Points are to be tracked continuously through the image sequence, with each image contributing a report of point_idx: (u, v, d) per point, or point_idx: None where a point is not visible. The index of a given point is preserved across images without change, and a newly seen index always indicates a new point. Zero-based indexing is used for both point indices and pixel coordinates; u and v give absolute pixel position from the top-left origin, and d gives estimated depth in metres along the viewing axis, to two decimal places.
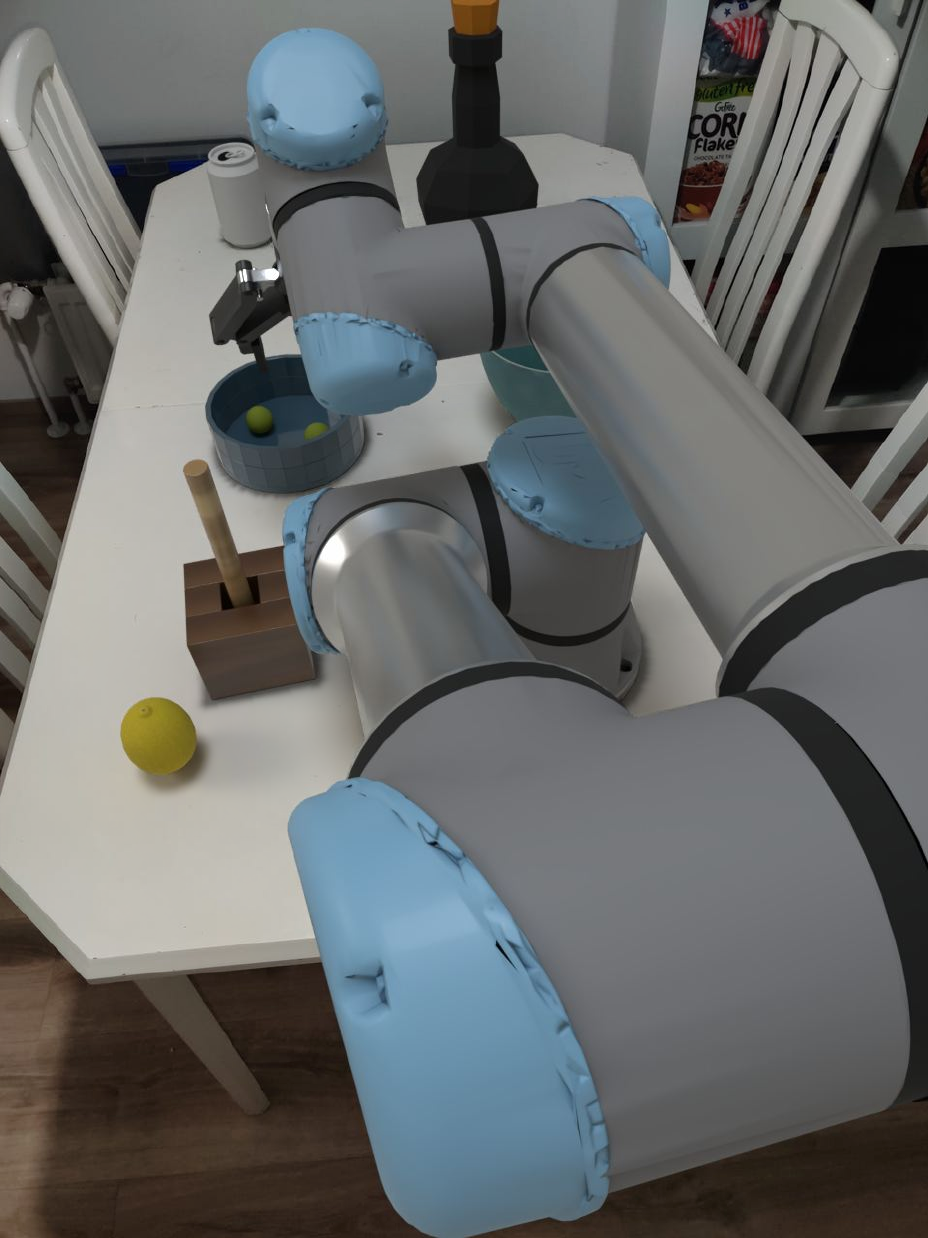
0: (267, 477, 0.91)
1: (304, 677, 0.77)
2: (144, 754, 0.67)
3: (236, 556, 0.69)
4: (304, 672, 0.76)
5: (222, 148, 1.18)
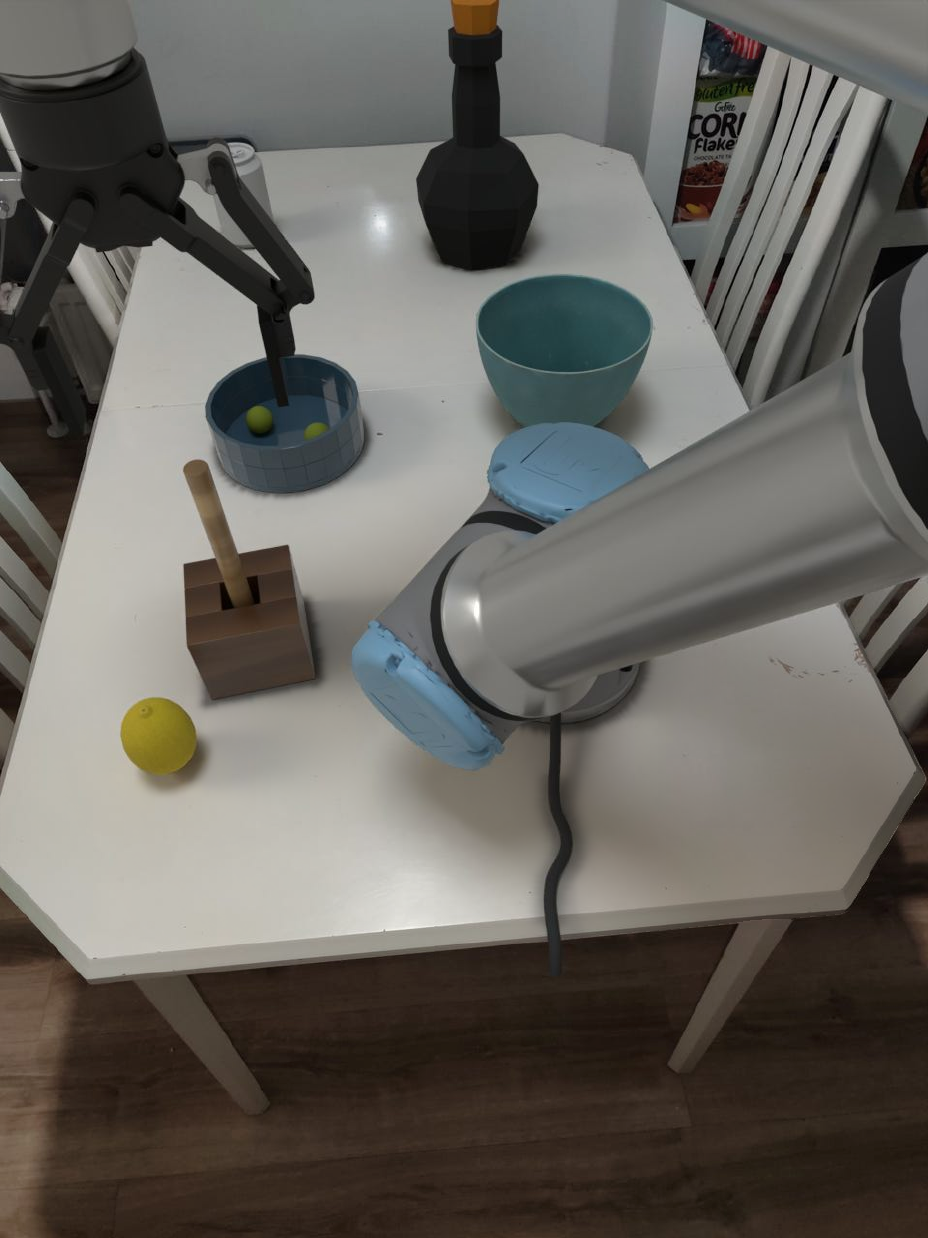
0: (267, 477, 0.91)
1: (304, 677, 0.77)
2: (144, 754, 0.67)
3: (236, 556, 0.69)
4: (304, 672, 0.76)
5: None
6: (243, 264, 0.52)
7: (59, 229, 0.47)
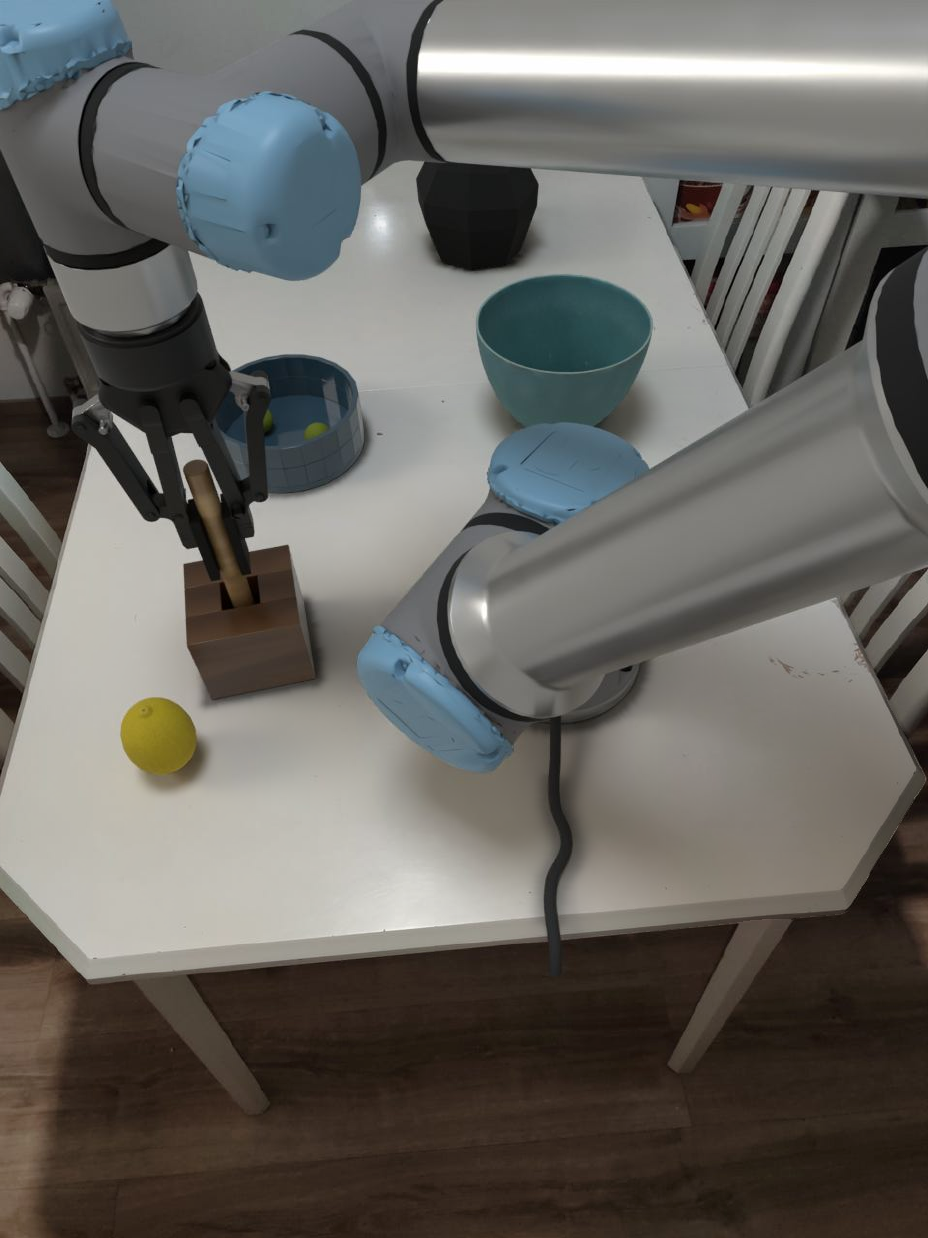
0: (267, 477, 0.91)
1: (304, 677, 0.77)
2: (144, 754, 0.67)
3: None
4: (304, 672, 0.76)
5: None
6: (231, 468, 0.63)
7: (146, 433, 0.57)
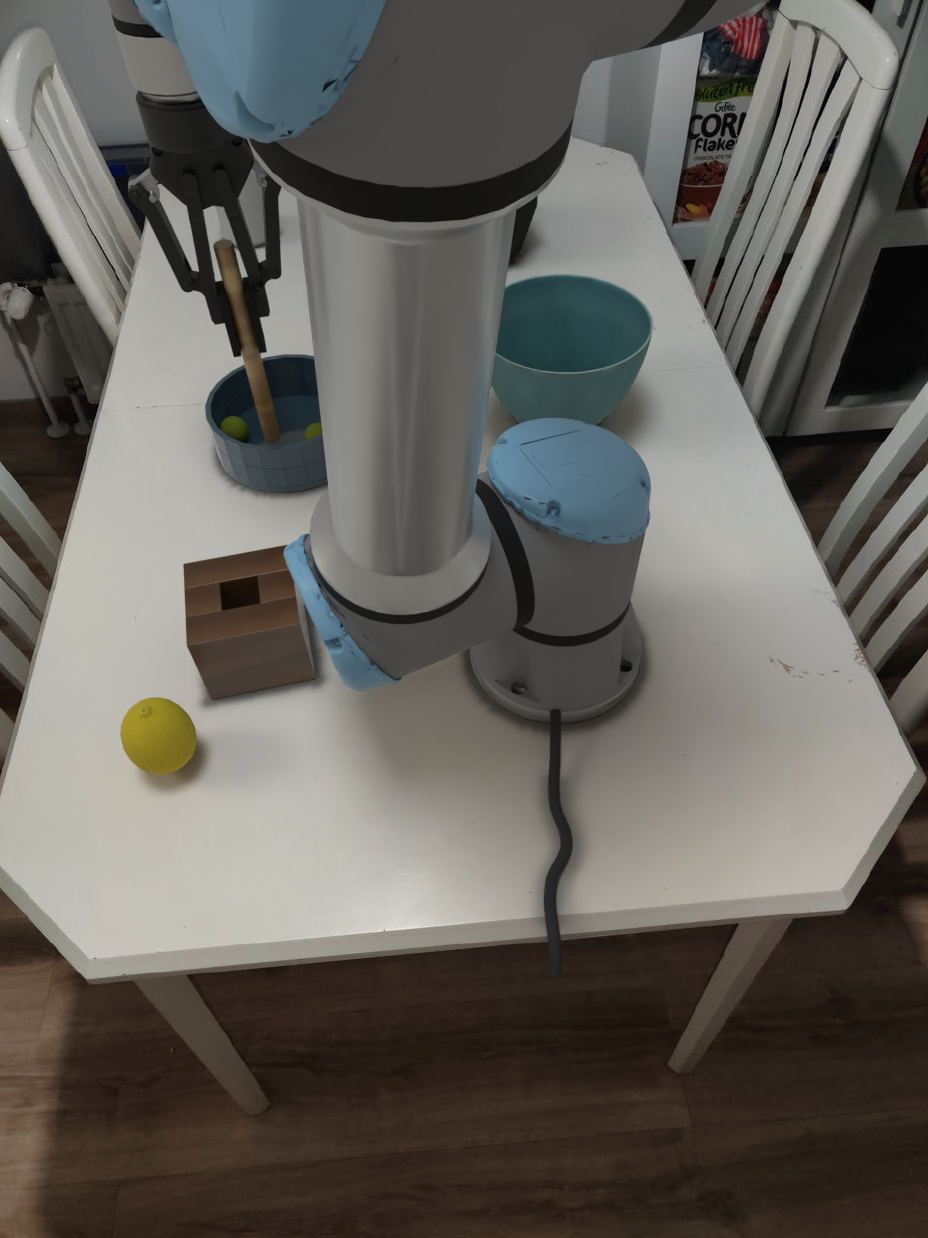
0: (267, 477, 0.91)
1: (304, 677, 0.77)
2: (144, 754, 0.67)
3: (254, 336, 0.85)
4: (304, 672, 0.76)
5: None
6: (252, 245, 0.78)
7: (186, 201, 0.72)
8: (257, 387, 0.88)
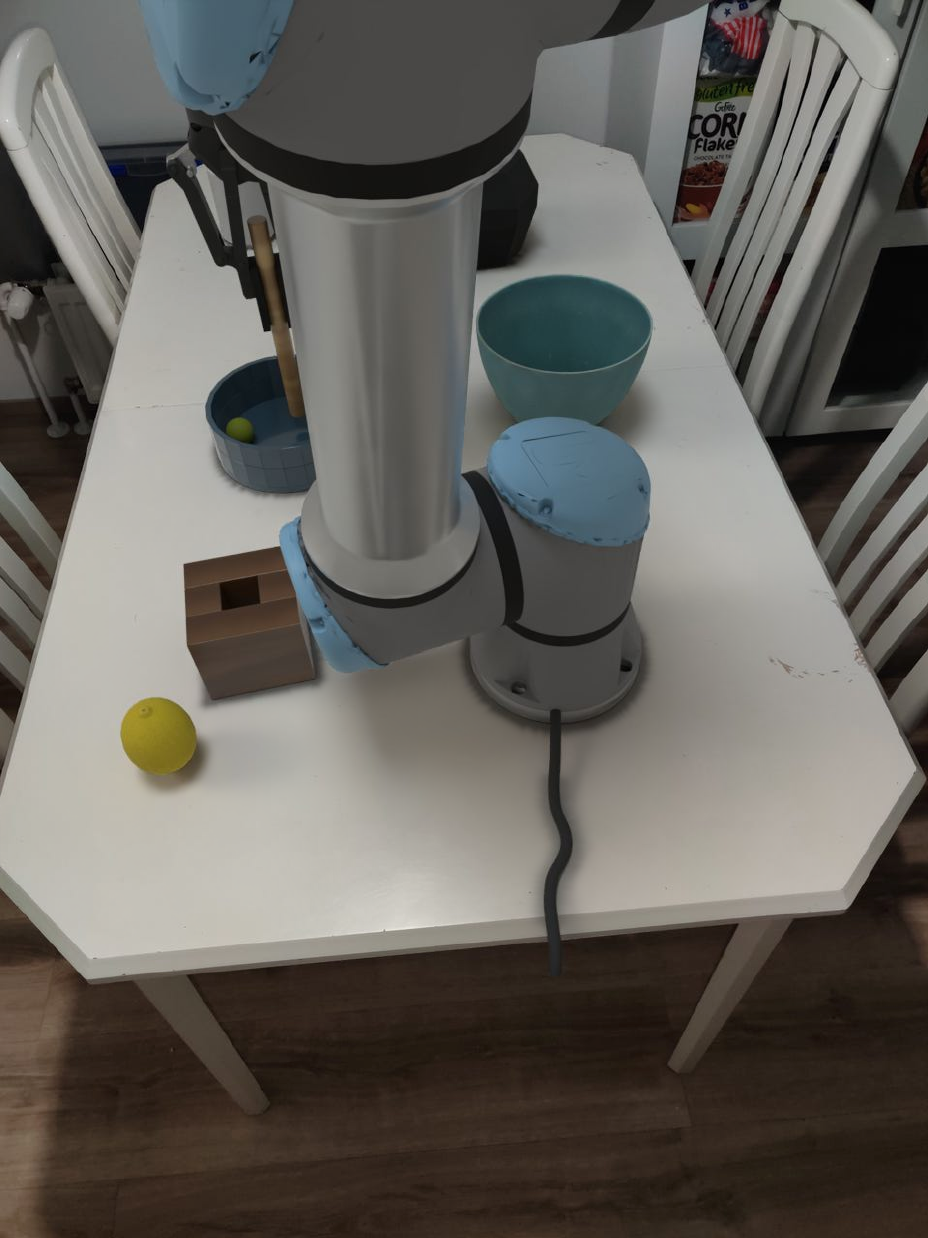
0: (267, 477, 0.91)
1: (304, 677, 0.77)
2: (144, 754, 0.67)
3: (284, 311, 0.86)
4: (304, 672, 0.76)
5: None
6: None
7: (223, 176, 0.74)
8: (285, 362, 0.90)
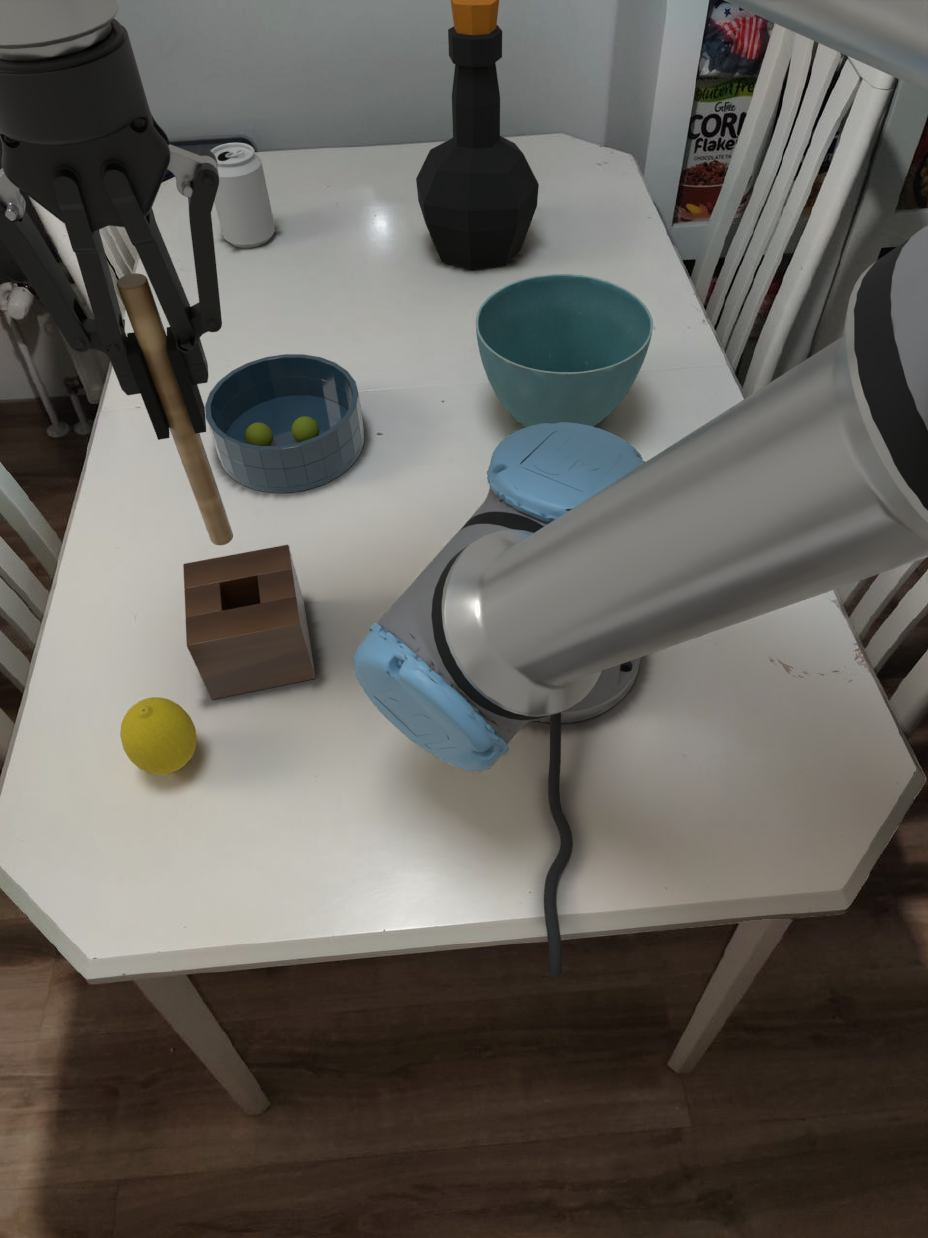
0: (267, 477, 0.91)
1: (304, 677, 0.77)
2: (144, 754, 0.67)
3: None
4: (304, 672, 0.76)
5: (222, 148, 1.18)
6: (176, 284, 0.52)
7: (64, 219, 0.46)
8: (195, 476, 0.62)
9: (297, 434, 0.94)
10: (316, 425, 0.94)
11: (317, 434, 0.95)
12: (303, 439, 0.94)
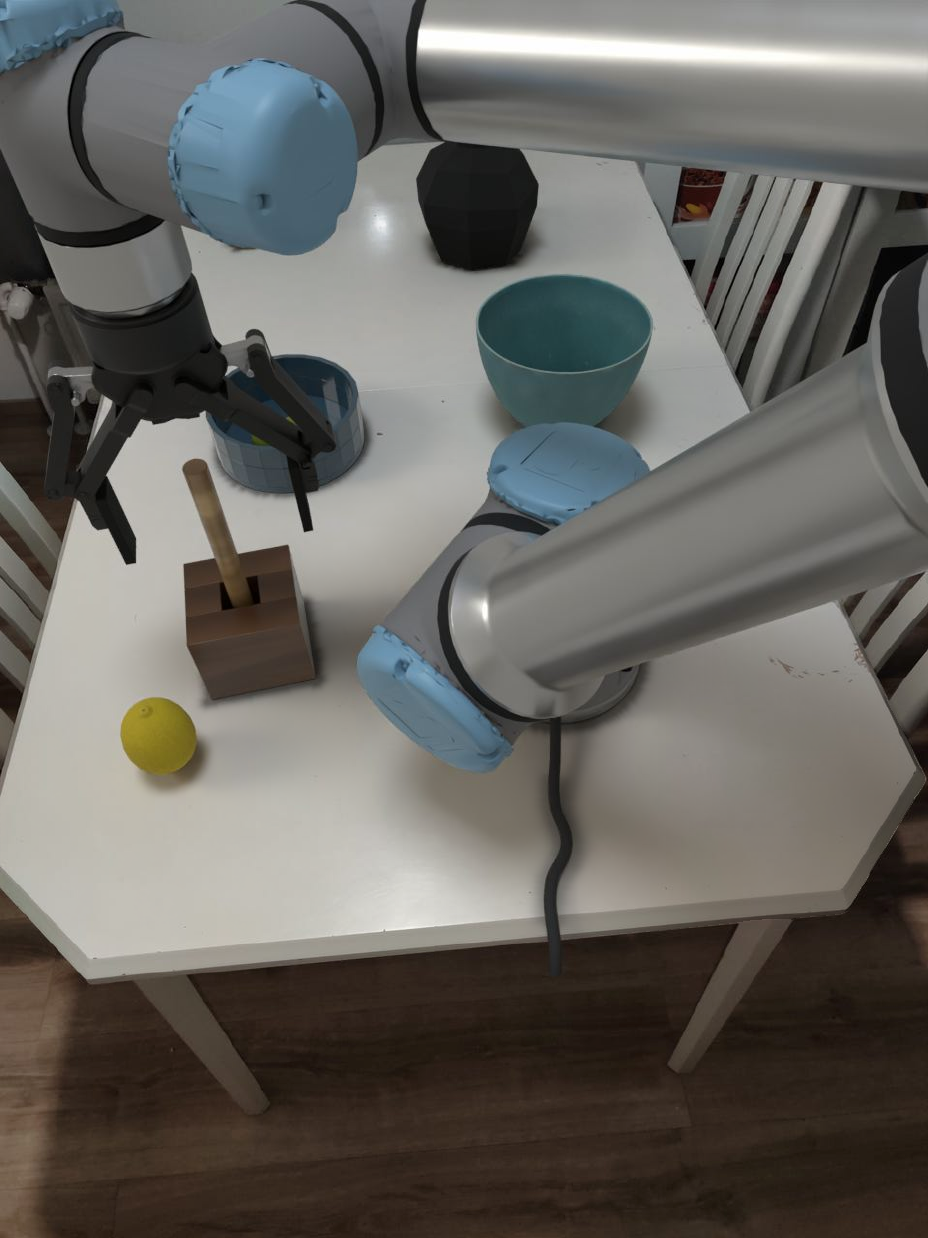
0: (267, 477, 0.91)
1: (304, 677, 0.77)
2: (144, 754, 0.67)
3: (235, 555, 0.69)
4: (304, 672, 0.76)
5: None
6: (275, 424, 0.61)
7: (123, 412, 0.56)
8: (239, 605, 0.73)
9: None
10: None
11: None
12: None
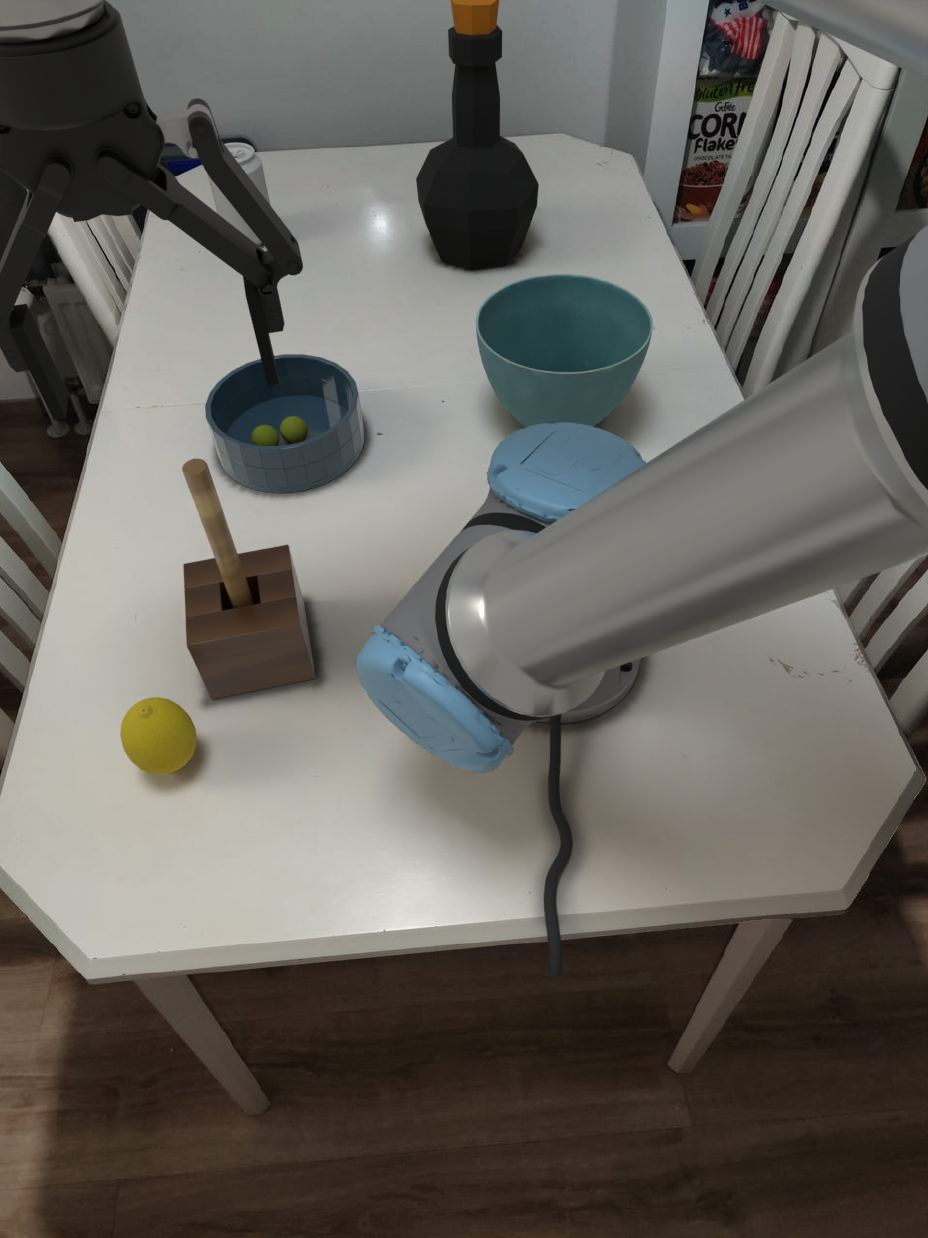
0: (267, 477, 0.91)
1: (304, 677, 0.77)
2: (144, 754, 0.67)
3: (235, 555, 0.69)
4: (304, 672, 0.76)
5: None
6: (228, 233, 0.50)
7: (34, 196, 0.45)
8: (239, 605, 0.73)
9: (285, 438, 0.94)
10: (294, 419, 0.94)
11: (300, 426, 0.94)
12: (291, 438, 0.94)
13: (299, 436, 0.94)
